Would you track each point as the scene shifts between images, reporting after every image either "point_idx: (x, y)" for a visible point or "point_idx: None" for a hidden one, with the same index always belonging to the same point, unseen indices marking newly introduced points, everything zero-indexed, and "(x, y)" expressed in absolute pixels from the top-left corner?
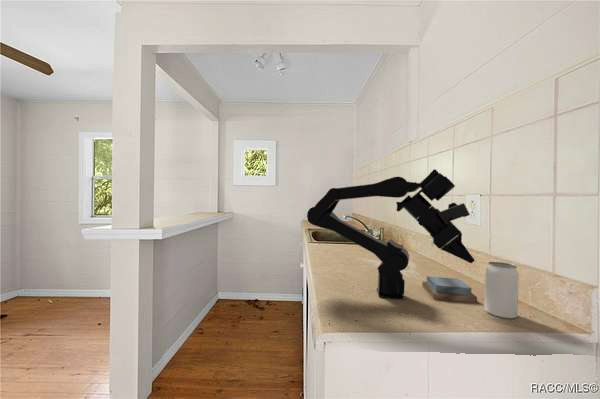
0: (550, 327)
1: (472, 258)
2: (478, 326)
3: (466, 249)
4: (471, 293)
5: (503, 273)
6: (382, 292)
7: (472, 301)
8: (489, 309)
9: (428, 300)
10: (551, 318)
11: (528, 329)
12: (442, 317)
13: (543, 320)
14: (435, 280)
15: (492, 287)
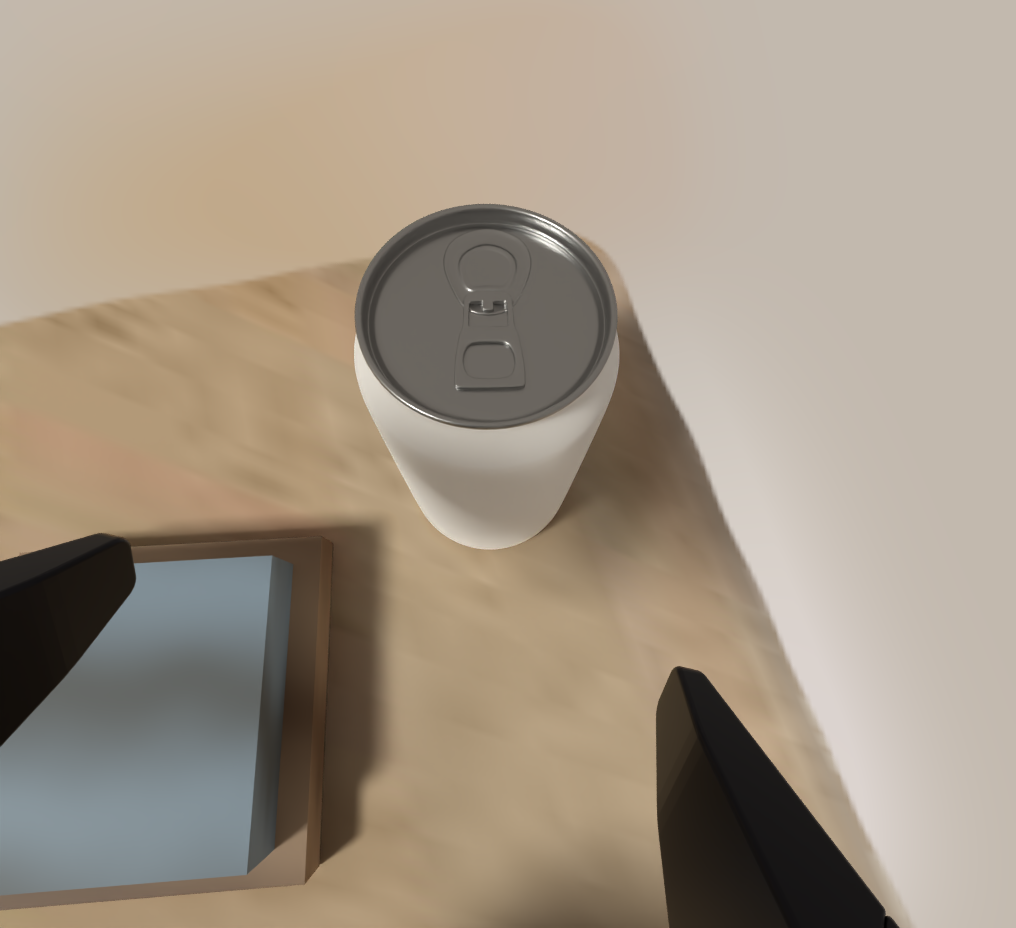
0: None
1: (721, 709)
2: (733, 683)
3: (880, 908)
4: (246, 546)
5: (612, 381)
6: None
7: (331, 569)
8: (523, 539)
9: (363, 919)
10: None
11: (665, 435)
12: None
13: None
14: (73, 835)
15: (551, 494)
